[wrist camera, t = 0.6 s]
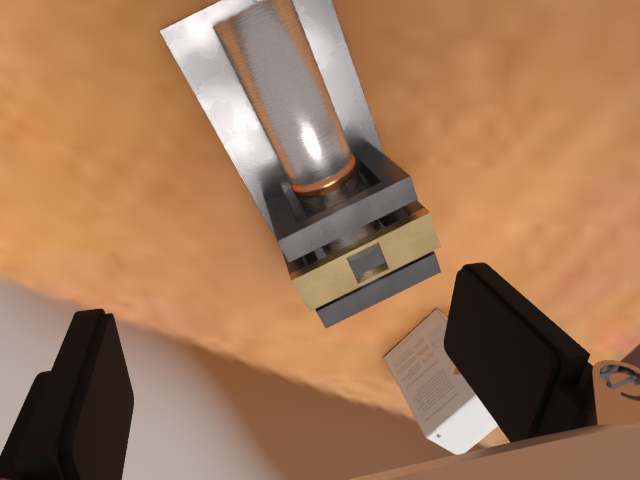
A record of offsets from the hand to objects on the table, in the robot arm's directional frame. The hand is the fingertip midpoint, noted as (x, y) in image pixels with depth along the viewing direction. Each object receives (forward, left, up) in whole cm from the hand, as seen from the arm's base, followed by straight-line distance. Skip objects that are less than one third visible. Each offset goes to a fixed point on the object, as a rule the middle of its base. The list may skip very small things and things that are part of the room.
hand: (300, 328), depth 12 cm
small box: (-7, +29, -24) cm, 38 cm away
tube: (-4, +2, -23) cm, 23 cm away
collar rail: (-4, +5, -23) cm, 24 cm away
